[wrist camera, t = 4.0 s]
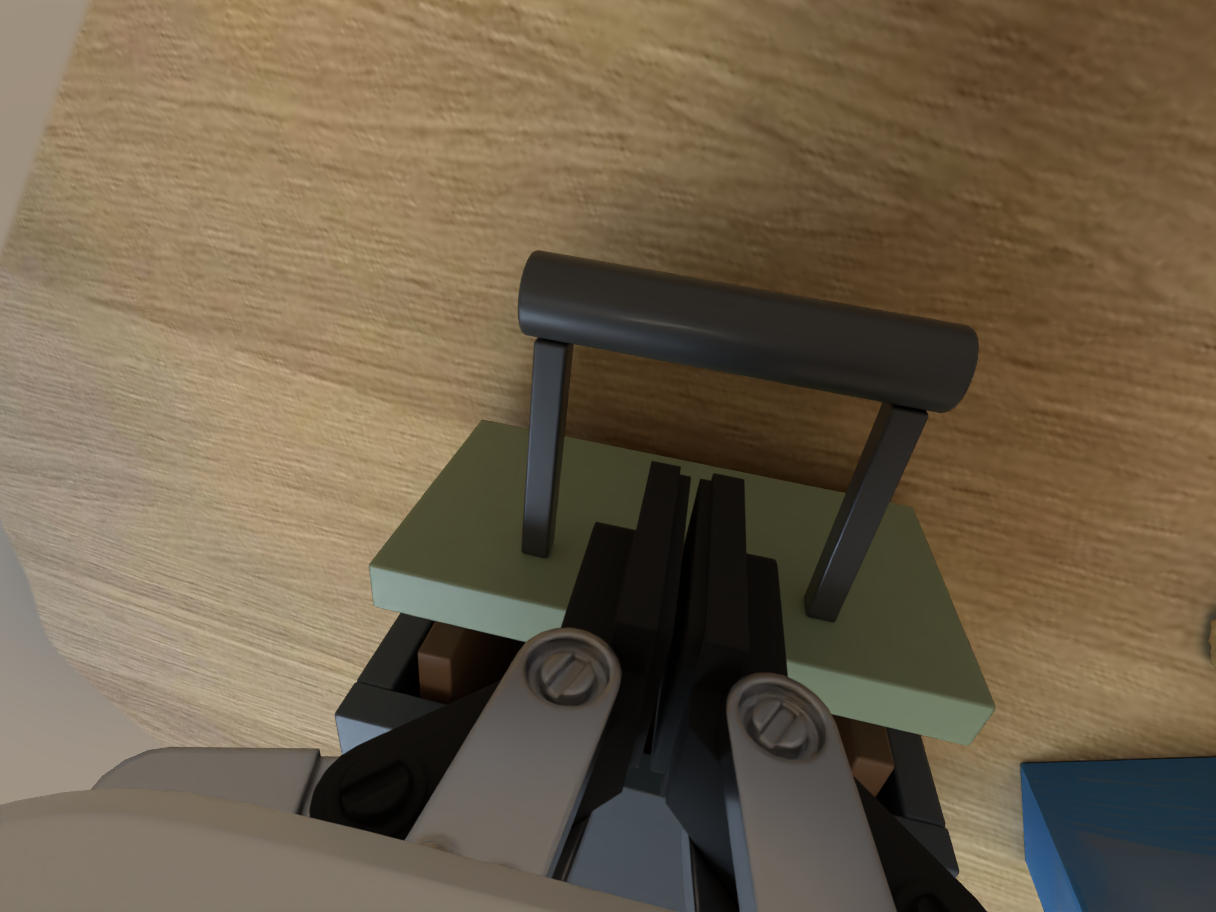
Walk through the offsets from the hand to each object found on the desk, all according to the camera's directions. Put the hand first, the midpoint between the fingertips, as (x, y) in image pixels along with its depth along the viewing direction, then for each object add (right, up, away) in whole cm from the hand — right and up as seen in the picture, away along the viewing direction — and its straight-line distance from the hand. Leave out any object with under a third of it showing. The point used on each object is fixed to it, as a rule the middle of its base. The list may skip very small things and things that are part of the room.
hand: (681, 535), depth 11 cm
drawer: (0, -2, +8) cm, 8 cm away
